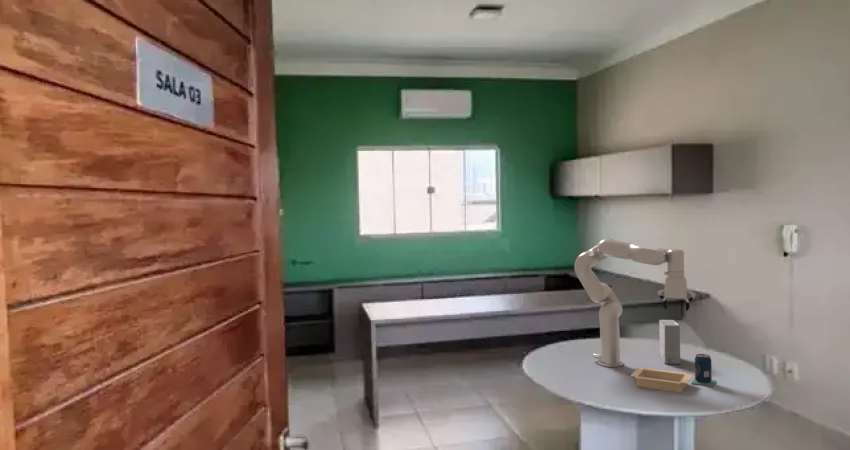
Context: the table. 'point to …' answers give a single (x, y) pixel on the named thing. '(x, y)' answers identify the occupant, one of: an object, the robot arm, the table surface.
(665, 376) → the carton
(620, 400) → the table surface
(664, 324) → the hard drive box
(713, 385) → the coaster
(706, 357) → the soda can
